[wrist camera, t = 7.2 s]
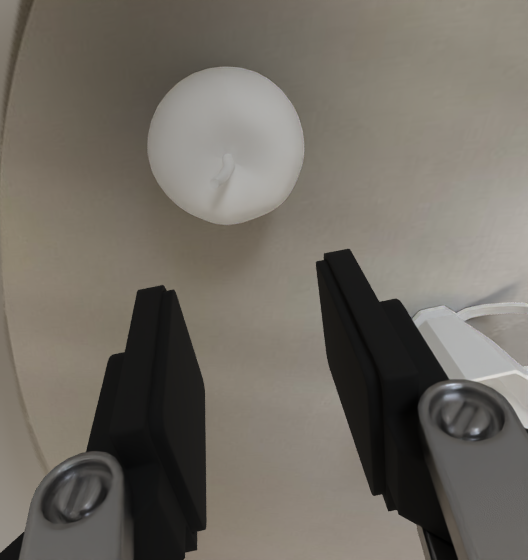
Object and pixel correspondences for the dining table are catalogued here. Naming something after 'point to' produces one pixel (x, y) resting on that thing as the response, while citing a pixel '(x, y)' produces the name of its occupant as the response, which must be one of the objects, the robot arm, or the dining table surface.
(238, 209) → the plain white apple
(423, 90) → the dining table surface
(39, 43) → the dining table surface
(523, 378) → the cup
